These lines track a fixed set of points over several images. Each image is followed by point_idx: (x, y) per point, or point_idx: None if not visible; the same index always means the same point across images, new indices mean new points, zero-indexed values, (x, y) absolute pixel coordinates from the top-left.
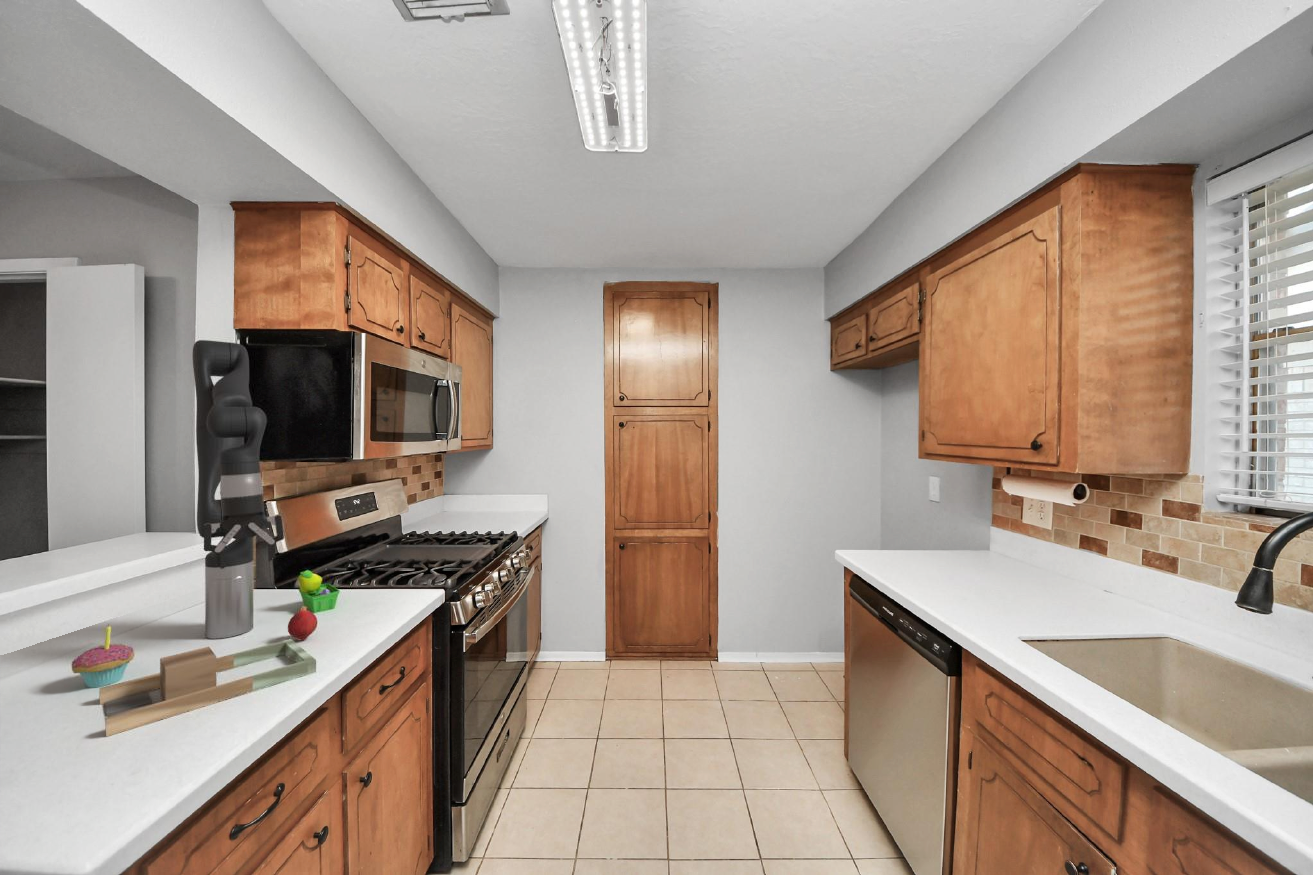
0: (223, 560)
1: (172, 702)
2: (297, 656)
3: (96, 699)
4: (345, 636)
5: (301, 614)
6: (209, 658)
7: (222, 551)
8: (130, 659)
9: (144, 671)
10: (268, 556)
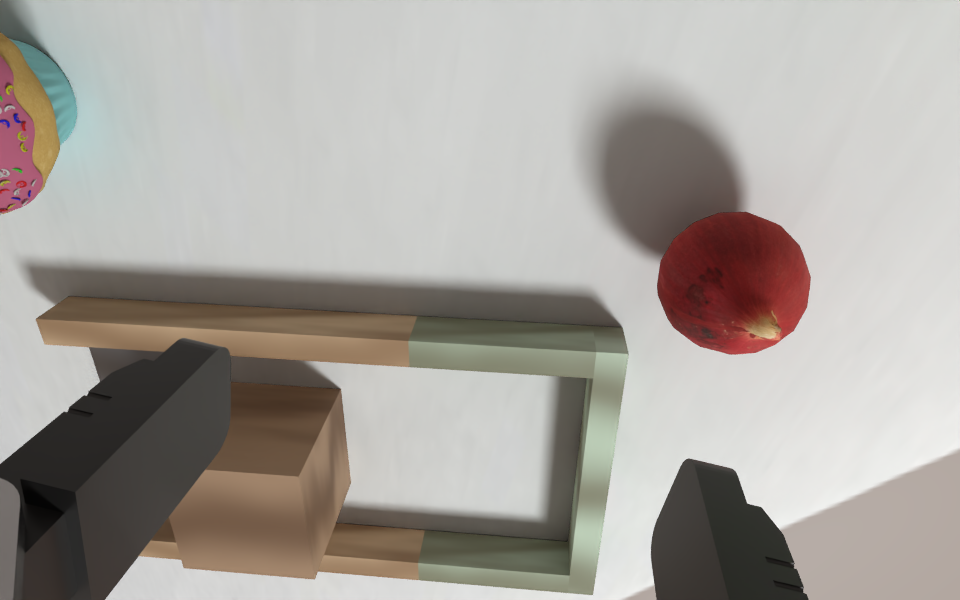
0: (167, 511)
1: None
2: (576, 503)
3: (54, 266)
4: (841, 352)
5: (729, 344)
6: (296, 576)
7: (70, 543)
8: (52, 165)
9: (142, 91)
10: (656, 591)
